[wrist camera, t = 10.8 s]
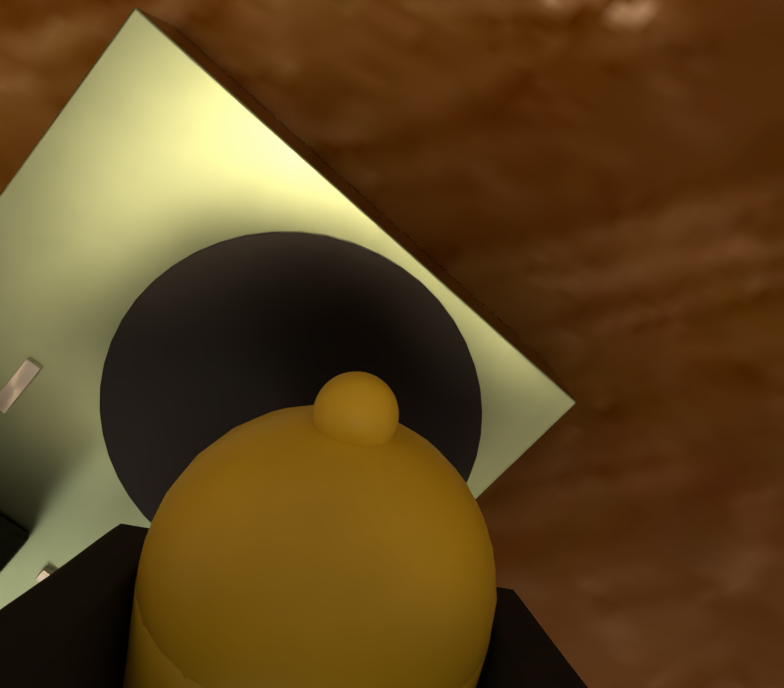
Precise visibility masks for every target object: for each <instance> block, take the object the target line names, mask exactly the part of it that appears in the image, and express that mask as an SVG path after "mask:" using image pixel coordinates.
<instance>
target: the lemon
mask: <svg viewBox="0 0 784 688" xmlns="http://www.w3.org/2000/svg"><path fill="white" fill-rule="evenodd" d="M398 420H399V408H398V404H397V400H396V398H395V395H394V393H393V392H392V390H391V389H390V388H389V386H388V385H387V384H386V383H385V382H384V381H382V380H381V379H380V378H378V377H376V376H374V375H372V374H369V373H366V372H359V371H353V372H347V373H343V374H340V375H338V376H336V377H334V378H332V379H331V380H330V381H328V382H327V383H326V384H325V385H324V386H323V388H322V389H321V390H320V392H319V393H318V395H317V398H316V400H315V403H314V405H308V406H298V407H290V408H284V409H280V410H276V411H272V412H270V413H267V414H265V415H262V416H260V417H258V418H255V419H253V420H251V421H248V422H246V423H244V424H241V425H239V426H237V427H235V428H233V429H232V430H230V431H229V432H227V433H226V434H225V435H223V436H222V437H221V438H219V439H218V440H217V441H215V442H214V443H213V444H211V445H210V446H209V447H207V448H206V449H205V450H203V451H202V452H201V453H199V454H198V455H197V456H196V457H195V459H194V460H193V461H192V462H191V463H190V464H189V466H188V467H187V468H186V469H185V470H184V472H183V473H182V474H181V475H180V476H179V478H178V479H177V480H176V481H175V483H174V484H173V485H172V486H171V488H170V489H169V490H168V491H167V493H166V494H165V496H164V498H163V500H162V502H161V504H160V506H159V508H158V510H157V512H156V514H155V516H154V518H153V520H152V522H151V525H150V528H149V530H148V533H147V535H146V538H145V541H144V545H143V549H142V553H141V557H140V561H139V565H138V569H137V575H136V581H135V589H134V597H133V606H132V614H131V623H130V631H129V639H128V648H127V656H126V665H125V673H124V681H123V688H476V686H477V683H478V679H479V676H480V673H481V670H482V667H483V663H484V660H485V657H486V654H487V650H488V646H489V642H490V638H491V629H492V624H493V618H494V613H495V608H496V602H497V593H496V572H495V561H494V553H493V547H492V544H491V540H490V537H489V533H488V530H487V526H486V523H485V520H484V517H483V515H482V513H481V511H480V508H479V506H478V504H477V502H476V500H475V498H474V497H473V495H472V493H471V491H470V489H469V488H468V486H467V484H466V482H465V481H464V479H463V478H462V477H461V475H460V474H459V473H458V471H457V470H456V469H455V468H454V466H453V465H452V464H451V463H450V462H449V461H448V460H447V459H446V458H445V457H444V456H443V455H442V454H441V453H440V452H439V450H438V449H436V448H435V447H434V446H433V445H432V444H431V443H430V442H429V441H427V440H426V439H425V438H423V437H422V436H420V435H419V434H417V433H416V432H414V431H412V430H410V429H409V428H407V427H405V426H403V425H402V424H400V423H398Z"/></svg>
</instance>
